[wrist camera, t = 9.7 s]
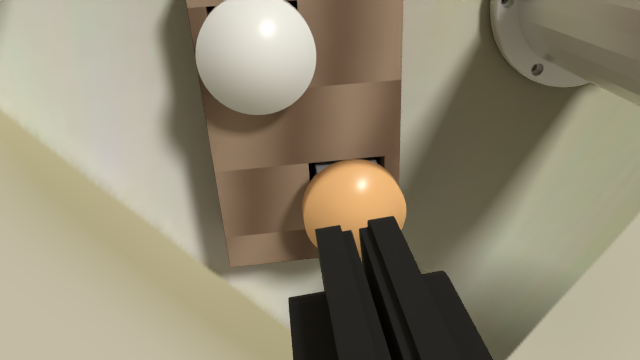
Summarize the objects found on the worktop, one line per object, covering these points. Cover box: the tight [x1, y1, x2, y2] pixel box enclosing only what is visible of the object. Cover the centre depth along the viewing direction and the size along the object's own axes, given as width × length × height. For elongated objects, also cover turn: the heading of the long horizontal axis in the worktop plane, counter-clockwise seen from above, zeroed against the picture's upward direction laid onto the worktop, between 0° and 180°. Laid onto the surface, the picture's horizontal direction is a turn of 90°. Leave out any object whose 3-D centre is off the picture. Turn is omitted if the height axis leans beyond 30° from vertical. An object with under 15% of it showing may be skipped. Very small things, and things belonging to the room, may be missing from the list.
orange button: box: [302, 157, 407, 258], centre depth 34 cm, size 6×6×7 cm
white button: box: [195, 0, 316, 115], centre depth 30 cm, size 6×6×7 cm
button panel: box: [186, 0, 403, 267], centre depth 34 cm, size 12×20×5 cm, turn 3°
